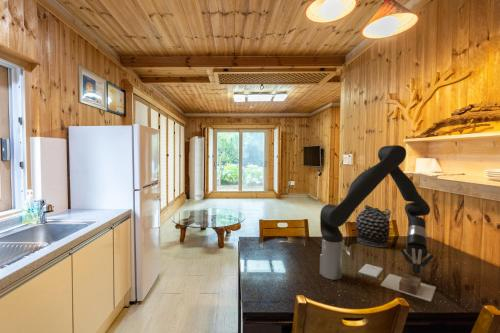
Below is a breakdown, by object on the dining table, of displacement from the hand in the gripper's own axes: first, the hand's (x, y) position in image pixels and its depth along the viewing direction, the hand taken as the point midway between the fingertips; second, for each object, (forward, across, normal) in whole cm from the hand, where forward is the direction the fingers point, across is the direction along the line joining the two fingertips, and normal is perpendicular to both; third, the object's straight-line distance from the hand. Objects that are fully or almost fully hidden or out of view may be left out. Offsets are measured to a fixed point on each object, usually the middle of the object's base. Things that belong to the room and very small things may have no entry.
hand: (416, 273), depth 109 cm
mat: (+6, -3, +3) cm, 7 cm away
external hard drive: (+1, -18, +9) cm, 20 cm away
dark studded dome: (-31, -23, +40) cm, 56 cm away
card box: (+2, -1, +4) cm, 4 cm away
